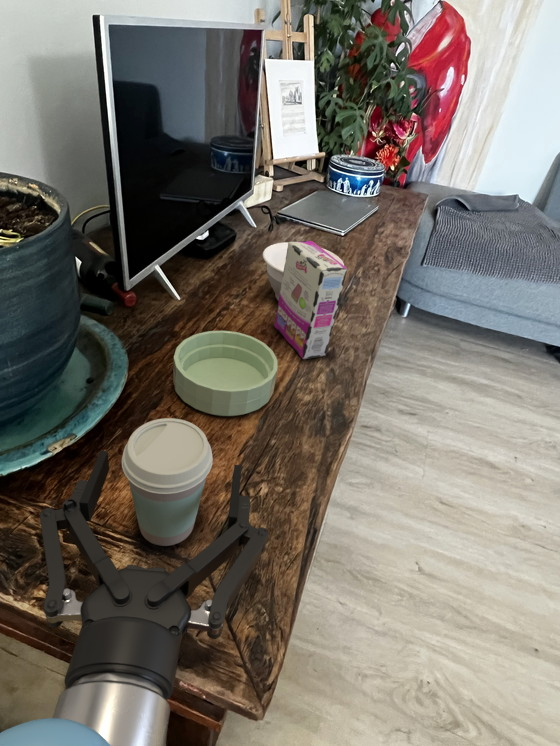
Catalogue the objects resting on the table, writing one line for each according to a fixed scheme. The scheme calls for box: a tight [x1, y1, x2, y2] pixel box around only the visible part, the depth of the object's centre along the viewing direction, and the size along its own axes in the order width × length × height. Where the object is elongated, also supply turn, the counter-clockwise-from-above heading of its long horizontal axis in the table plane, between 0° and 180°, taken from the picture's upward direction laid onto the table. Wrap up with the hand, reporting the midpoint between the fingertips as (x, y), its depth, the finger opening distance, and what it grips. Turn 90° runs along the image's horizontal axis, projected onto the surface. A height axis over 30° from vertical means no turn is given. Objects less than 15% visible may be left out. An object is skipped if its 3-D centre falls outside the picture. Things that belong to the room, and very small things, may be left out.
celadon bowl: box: [172, 330, 279, 417], centre depth 73 cm, size 15×15×5 cm
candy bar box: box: [274, 240, 348, 360], centre depth 82 cm, size 11×5×16 cm, turn 27°
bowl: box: [262, 241, 345, 301], centre depth 98 cm, size 16×16×8 cm
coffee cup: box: [121, 417, 214, 547], centre depth 50 cm, size 8×9×12 cm
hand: (171, 466), depth 51 cm, fingers open, 13 cm apart
